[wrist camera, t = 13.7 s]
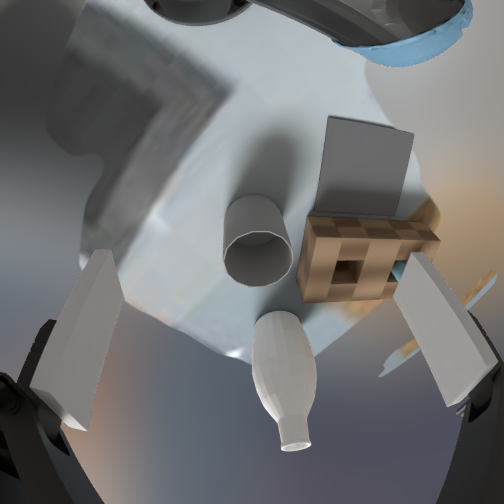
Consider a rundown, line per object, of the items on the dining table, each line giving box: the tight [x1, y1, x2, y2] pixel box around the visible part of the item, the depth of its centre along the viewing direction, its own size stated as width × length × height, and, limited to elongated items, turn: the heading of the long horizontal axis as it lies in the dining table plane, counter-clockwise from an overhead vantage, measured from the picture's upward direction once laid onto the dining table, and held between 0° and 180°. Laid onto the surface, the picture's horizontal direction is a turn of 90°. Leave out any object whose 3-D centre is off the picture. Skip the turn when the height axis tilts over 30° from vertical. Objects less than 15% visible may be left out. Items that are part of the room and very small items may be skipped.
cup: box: [223, 195, 293, 287], centre depth 39 cm, size 8×8×10 cm
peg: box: [391, 260, 407, 283], centre depth 43 cm, size 3×3×12 cm
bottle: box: [252, 311, 317, 451], centre depth 46 cm, size 11×11×25 cm
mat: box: [314, 118, 414, 216], centre depth 39 cm, size 14×14×1 cm
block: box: [296, 216, 441, 303], centre depth 45 cm, size 12×22×6 cm, turn 87°
